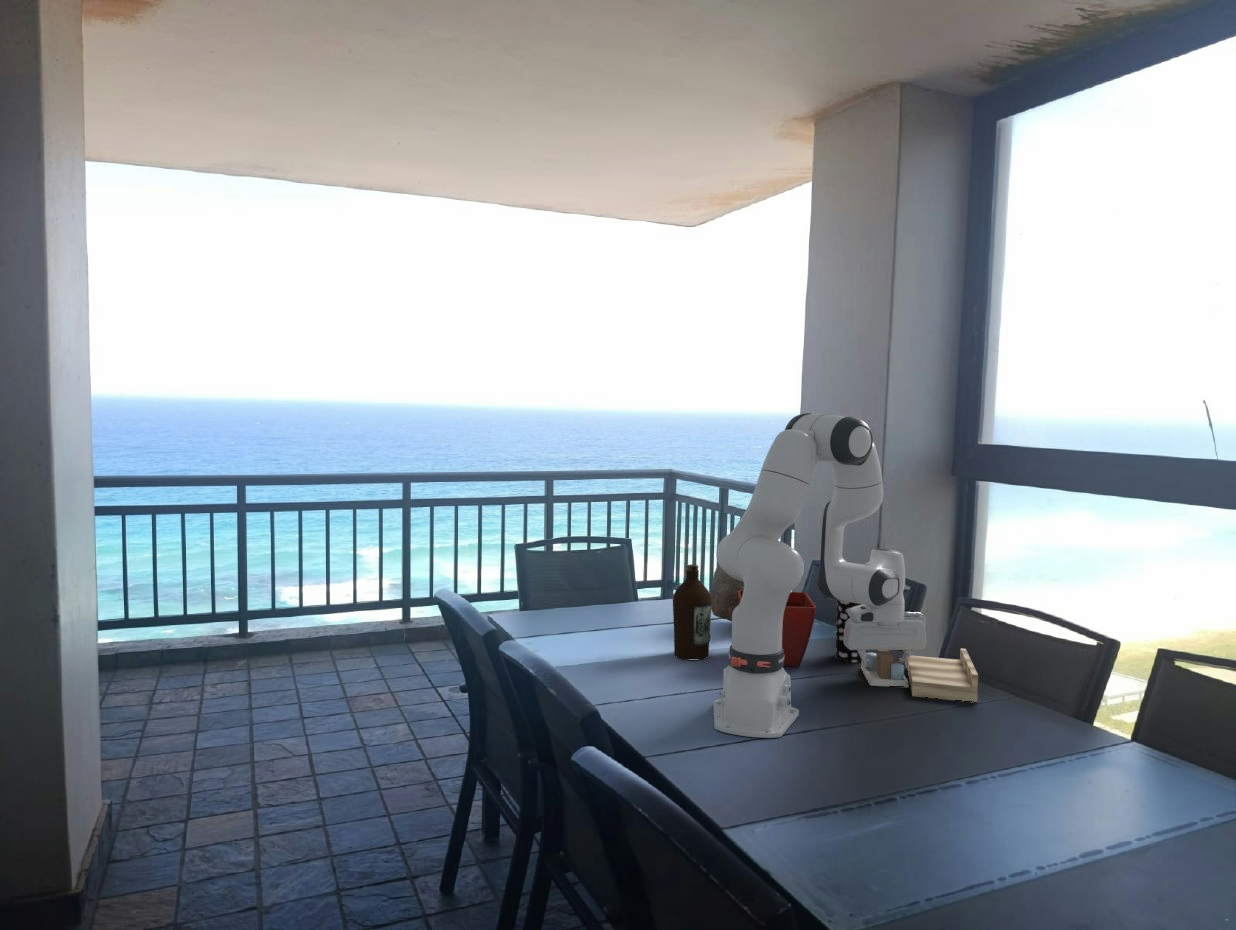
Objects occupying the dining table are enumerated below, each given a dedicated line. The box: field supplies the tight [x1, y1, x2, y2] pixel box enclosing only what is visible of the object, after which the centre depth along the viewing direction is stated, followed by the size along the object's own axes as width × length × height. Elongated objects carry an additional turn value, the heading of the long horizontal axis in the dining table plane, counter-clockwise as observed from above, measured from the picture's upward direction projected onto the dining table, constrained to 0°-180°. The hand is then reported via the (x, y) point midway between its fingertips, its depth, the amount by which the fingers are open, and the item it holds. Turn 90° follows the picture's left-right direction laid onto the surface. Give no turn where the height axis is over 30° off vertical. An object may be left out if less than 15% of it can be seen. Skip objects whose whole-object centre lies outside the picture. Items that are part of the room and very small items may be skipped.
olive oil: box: [672, 564, 712, 660], centre depth 214 cm, size 11×11×25 cm
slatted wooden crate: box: [906, 648, 979, 703], centre depth 192 cm, size 22×14×6 cm, turn 163°
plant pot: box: [738, 590, 817, 667], centre depth 211 cm, size 19×19×17 cm
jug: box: [710, 564, 744, 623], centre depth 242 cm, size 24×21×30 cm
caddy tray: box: [860, 650, 910, 688], centre depth 197 cm, size 13×9×7 cm
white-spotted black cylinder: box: [835, 600, 869, 663], centre depth 213 cm, size 8×8×20 cm
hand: (884, 666), depth 197 cm, fingers open, 8 cm apart
